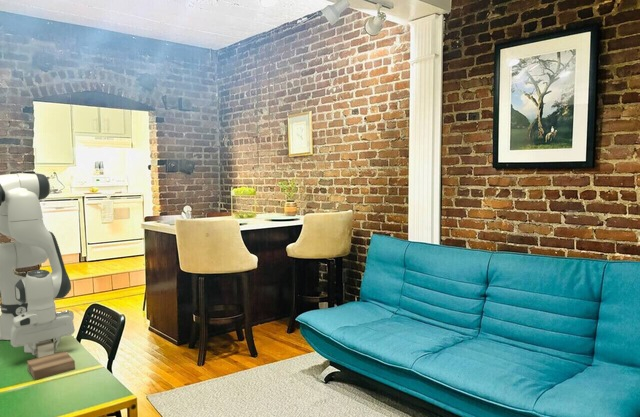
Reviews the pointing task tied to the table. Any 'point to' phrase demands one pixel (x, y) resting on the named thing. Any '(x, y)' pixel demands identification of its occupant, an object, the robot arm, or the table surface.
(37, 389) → the table surface
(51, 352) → the ash cube
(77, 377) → the table surface
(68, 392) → the table surface
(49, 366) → the walnut base
